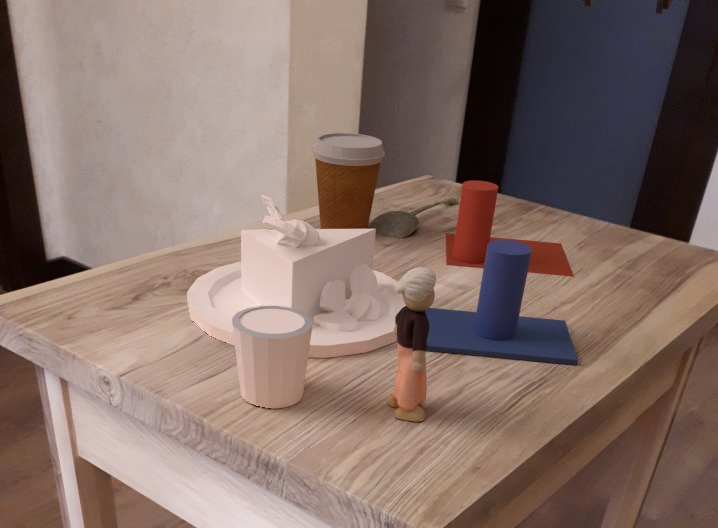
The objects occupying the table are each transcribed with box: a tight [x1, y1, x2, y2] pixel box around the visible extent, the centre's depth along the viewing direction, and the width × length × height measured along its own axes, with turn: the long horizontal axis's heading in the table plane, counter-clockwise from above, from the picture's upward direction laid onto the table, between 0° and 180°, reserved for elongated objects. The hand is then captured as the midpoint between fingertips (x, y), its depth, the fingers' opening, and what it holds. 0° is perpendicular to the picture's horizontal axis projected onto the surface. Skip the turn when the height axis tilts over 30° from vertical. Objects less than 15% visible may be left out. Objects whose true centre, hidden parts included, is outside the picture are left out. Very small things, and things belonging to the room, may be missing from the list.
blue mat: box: [425, 307, 579, 366], centre depth 84 cm, size 16×10×1 cm, turn 84°
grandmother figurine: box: [386, 266, 437, 423], centre depth 67 cm, size 8×4×13 cm, turn 21°
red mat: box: [445, 232, 575, 278], centre depth 105 cm, size 16×13×1 cm
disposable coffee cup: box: [311, 132, 386, 229], centre depth 106 cm, size 10×10×12 cm
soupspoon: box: [369, 195, 460, 239], centre depth 115 cm, size 22×3×7 cm
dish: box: [186, 194, 406, 359], centre depth 84 cm, size 25×25×11 cm
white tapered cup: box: [232, 306, 313, 409], centre depth 69 cm, size 7×7×7 cm
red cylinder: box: [452, 180, 499, 263], centre depth 100 cm, size 4×4×9 cm
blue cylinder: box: [474, 240, 532, 340], centre depth 81 cm, size 4×4×9 cm
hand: (623, 4), depth 95 cm, fingers open, 8 cm apart
